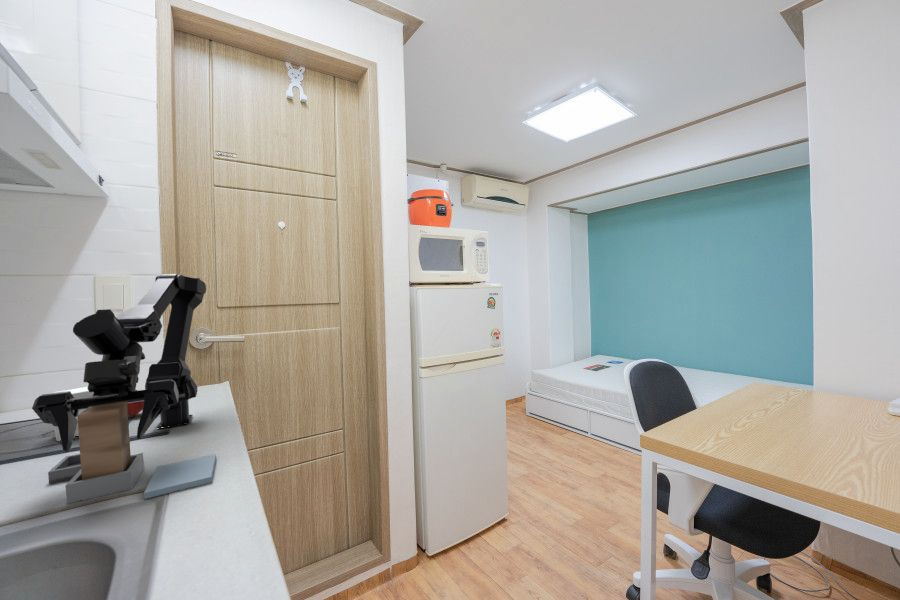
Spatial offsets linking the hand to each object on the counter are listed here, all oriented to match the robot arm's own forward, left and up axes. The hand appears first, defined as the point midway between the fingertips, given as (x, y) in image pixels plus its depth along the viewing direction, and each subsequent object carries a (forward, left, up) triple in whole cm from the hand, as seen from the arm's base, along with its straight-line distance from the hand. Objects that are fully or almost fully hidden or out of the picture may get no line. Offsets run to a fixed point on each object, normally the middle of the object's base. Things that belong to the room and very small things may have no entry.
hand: (103, 444), depth 60 cm
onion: (-44, -6, -8) cm, 45 cm away
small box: (-36, -14, -8) cm, 39 cm away
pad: (+3, +11, -7) cm, 14 cm away
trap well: (-11, -6, -7) cm, 15 cm away
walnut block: (-1, 0, -8) cm, 8 cm away
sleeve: (-1, 0, -7) cm, 8 cm away
